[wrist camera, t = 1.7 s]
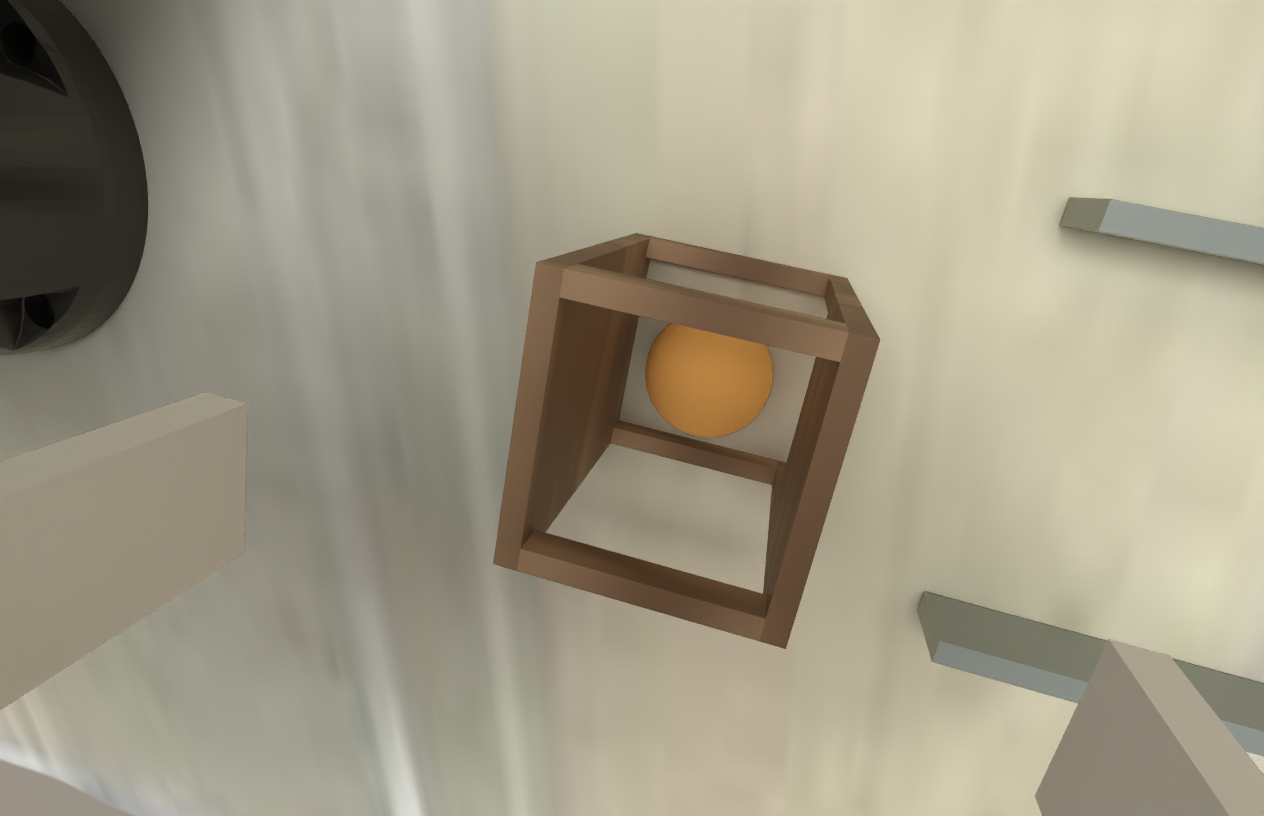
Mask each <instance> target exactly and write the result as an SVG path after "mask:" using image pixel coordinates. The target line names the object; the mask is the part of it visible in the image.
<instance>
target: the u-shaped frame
mask: <svg viewBox="0 0 1264 816" xmlns="http://www.w3.org/2000/svg"><path fill="white" fill-rule="evenodd" d="M1060 225H1062V226H1067V227H1072V228H1077V229H1082V230H1087V231H1092V232H1097V233H1102V234H1108V235H1113V236H1118V237H1123V238H1128V239H1133V240H1138V241H1143V242H1149V243H1154V244H1159V245H1164V246H1169V247H1174V248H1179V249H1184V250H1189V251H1195V252H1200V253H1205V254H1210V255H1215V256H1220V257H1225V258H1230V259H1235V260H1241V261H1246V262H1251V263H1256V264H1261V265H1264V228H1261V227H1255V226H1250V225H1245V224H1240V223H1234V222H1229V221H1224V220H1218V219H1213V218H1208V217H1203V216H1197V215H1192V214H1187V213H1181V212H1176V211H1171V210H1165V209H1160V208H1155V207H1150V206H1144V205H1139V204H1134V203H1128V202H1123V201H1118V200H1113V199H1094V198H1069V201H1068V204H1067V207H1066V209H1065V212H1064V215H1063V217H1062V220H1061V223H1060ZM917 611H918V614H919V618H920V621H921V625H922V629H923V632H924V636H925V639H926V643H927V646H928V650H929V653H930V657H931V660H932V662H934V663H938V664H941V665H945V666H948V667H952V668H955V669H959V670H962V671H966V672H969V673H973V674H976V675H980V676H983V677H987V678H990V679H994V680H998V681H1001V682H1005V683H1008V684H1012V685H1015V686H1019V687H1022V688H1026V689H1029V690H1033V691H1036V692H1040V693H1043V694H1047V695H1050V696H1054V697H1057V698H1061V699H1064V700H1068V701H1071V702H1075V703H1079V701H1080V699H1081V697H1082V695H1083V693H1084V691H1085V689H1086V686H1087V684H1088V682H1089V680H1090V678H1091V676H1092V674H1093V672H1094V670H1095V667H1096V665H1097V663H1098V661H1099V659H1100V657H1101V655H1102V653H1103V650H1104V648H1105V646H1106V644H1107V642H1108V641H1104V640H1101V639H1097V638H1093V637H1090V636H1086V635H1082V634H1079V633H1075V632H1071V631H1068V630H1064V629H1060V628H1057V627H1053V626H1049V625H1046V624H1042V623H1038V622H1035V621H1031V620H1027V619H1024V618H1020V617H1016V616H1012V615H1009V614H1005V613H1001V612H998V611H994V610H990V609H987V608H983V607H979V606H976V605H972V604H968V603H965V602H961V601H957V600H954V599H950V598H946V597H943V596H939V595H935V594H931V593H928V592H924V594H923V597H922V600H921V602H920V605H919V608H918V610H917ZM1173 660H1174V659H1173ZM1174 662H1175V663H1176V664H1177V665H1178V667H1179V668H1180V669H1181V671H1182V672H1183V673H1184V674H1185V676H1186V677H1187V678H1188V679H1189V681H1190V682H1191V683H1192V684H1193V686H1194V687H1195V688H1196V689H1197V691H1198V692H1199V693H1200V695H1201V696H1202V697H1203V698H1204V700H1205V701H1206V702H1207V703H1208V705H1209V706H1210V707H1211V708H1212V710H1213V711H1214V712H1215V714H1216V715H1217V716H1218V717H1219V719H1220V720H1221V721H1222V722H1223V724H1224V725H1225V726H1226V727H1227V729H1228V730H1229V731H1230V733H1231V734H1232V735H1233V736H1234V738H1235V739H1236V740H1237V741H1238V743H1239V744H1240V745H1241V746H1242V748H1243V749H1244V750H1245V751H1247V752H1250V753H1254V754H1257V755H1261V756H1264V684H1263V683H1259V682H1255V681H1252V680H1248V679H1244V678H1241V677H1237V676H1233V675H1230V674H1226V673H1222V672H1219V671H1215V670H1211V669H1208V668H1204V667H1200V666H1197V665H1193V664H1189V663H1185V662H1182V661H1178V660H1174Z"/></svg>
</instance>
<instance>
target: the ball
mask: <svg viewBox="0 0 1264 816" xmlns="http://www.w3.org/2000/svg"><path fill="white" fill-rule="evenodd" d="M772 381H773V368H772V361H771V357H770V353H769V351H768V348H767V346H766V345H764V344H759V343H755V342H751V341H746V340H742V339H738V338H733V337H729V336H725V335H720V334H716V333H712V332H707V331H703V330H699V329H694V328H690V327H686V326H681V325H677V324H673V323H671V324H670V325H668V326H667V327H666V328H665V329H664V330H663V331H662V332H661V333H660V335H659V336H658V337H657V339H656V340H655V342H654V344H653V345H652V347H651V350H650V352H649V355H648V359H647V363H646V385H647V390H648V393H649V396H650V399H651V401H652V403H653V405H654V406H655V408H656V410H657V411H658V412H659V414H660V415H661V416H662V417H663V418H664V419H665V420H666V421H667V422H668V423H669V424H671V425H672V426H673V427H675V428H677V429H678V430H680V431H683V432H685V433H687V434H691V435H694V436H699V437H719V436H724V435H727V434H731V433H733V432H735V431H737V430H740V429H741V428H743V427H744V426H746V425H747V424H748V423H750V422H751V421H752V420H753V419H754V418H755V417H756V416H757V415H758V414H759V413H760V411H761V410H762V408H763V407H764V405H765V403H766V401H767V399H768V396H769V394H770V391H771V386H772Z"/></svg>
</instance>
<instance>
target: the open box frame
mask: <svg viewBox="0 0 1264 816" xmlns="http://www.w3.org/2000/svg"><path fill="white" fill-rule="evenodd" d="M650 258H652V259H656V260H661V261H666V262H670V263H675V264H679V265H684V266H688V267H693V268H698V269H702V270H707V271H711V272H716V273H720V274H725V275H730V276H734V277H739V278H743V279H748V280H752V281H757V282H762V283H766V284H771V285H775V286H780V287H784V288H789V289H794V290H798V291H803V292H807V293H812V294H816V295H821V296H824V298H825V302H826V306H827V310H828V316H827V319H823V318H818V317H814V316H810V315H805V314H801V313H796V312H792V311H787V310H783V309H778V308H774V307H769V306H765V305H760V304H756V303H751V302H747V301H742V300H738V299H733V298H729V297H724V296H720V295H715V294H711V293H706V292H702V291H698V290H693V289H689V288H684V287H680V286H675V285H671V284H666V283H662V282H657V281H653V280H648V279H646V275H647V270H648V265H649V260H650ZM639 316H643V317H647V318H651V319H656V320H660V321H664V322H668V323H673V324H677V325H681V326H686V327H690V328H694V329H699V330H703V331H707V332H712V333H716V334H720V335H725V336H729V337H733V338H738V339H742V340H746V341H751V342H755V343H759V344H764V345H768V346H772V347H777V348H781V349H785V350H790V351H794V352H798V353H803V354H807V355H811V356H816V359H815V363H814V367H813V370H812V374H811V377H810V381H809V384H808V388H807V392H806V395H805V399H804V402H803V406H802V410H801V413H800V417H799V420H798V424H797V428H796V431H795V435H794V438H793V442H792V445H791V449H790V453H789V456H788V460H787V463H784V462H780V461H776V460H772V459H768V458H764V457H760V456H756V455H752V454H748V453H744V452H740V451H736V450H733V449H729V448H725V447H721V446H717V445H713V444H709V443H705V442H701V441H697V440H693V439H689V438H685V437H681V436H677V435H673V434H669V433H666V432H662V431H658V430H654V429H650V428H646V427H642V426H638V425H634V424H630V423H626V422H622V421H618V420H619V415H620V410H621V405H622V400H623V394H624V389H625V384H626V379H627V374H628V368H629V363H630V358H631V353H632V348H633V342H634V337H635V332H636V327H637V322H638V317H639ZM879 342H880V338H879V337H878V335H877V333H876V331H875V329H874V327H873V325H872V324H871V322H870V320H869V318H868V316H867V314H866V312H865V311H864V309H863V307H862V305H861V303H860V301H859V299H858V298H857V296H856V294H855V292H854V290H853V288H852V287H851V285H850V283H849V281H848V279H847V278H843V277H838V276H833V275H829V274H824V273H819V272H815V271H810V270H805V269H801V268H796V267H791V266H787V265H782V264H777V263H773V262H768V261H763V260H759V259H754V258H749V257H745V256H740V255H735V254H731V253H726V252H721V251H717V250H712V249H707V248H703V247H698V246H693V245H689V244H684V243H679V242H675V241H670V240H665V239H661V238H656V237H651V236H647V235H642V234H637V233H636V234H632V235H629V236H625V237H622V238H619V239H615V240H612V241H608V242H605V243H601V244H598V245H594V246H591V247H588V248H584V249H581V250H577V251H574V252H570V253H567V254H563V255H560V256H557V257H553V258H550V259H546V260H543V261H539V262H536V268H535V275H534V282H533V289H532V296H531V303H530V310H529V317H528V324H527V331H526V338H525V345H524V352H523V359H522V366H521V373H520V380H519V387H518V394H517V401H516V408H515V415H514V422H513V429H512V436H511V443H510V450H509V457H508V464H507V471H506V478H505V485H504V492H503V499H502V506H501V513H500V520H499V527H498V534H497V541H496V548H495V555H494V562H493V564H495V565H499V566H502V567H506V568H509V569H512V570H516V571H519V572H523V573H526V574H530V575H533V576H537V577H540V578H543V579H547V580H550V581H554V582H557V583H561V584H564V585H567V586H571V587H574V588H578V589H581V590H585V591H588V592H592V593H595V594H598V595H602V596H605V597H609V598H612V599H616V600H619V601H623V602H626V603H629V604H633V605H636V606H640V607H643V608H647V609H650V610H654V611H657V612H660V613H664V614H667V615H671V616H674V617H678V618H681V619H685V620H688V621H691V622H695V623H698V624H702V625H705V626H709V627H712V628H715V629H719V630H722V631H726V632H729V633H733V634H736V635H740V636H743V637H746V638H750V639H753V640H757V641H760V642H764V643H767V644H771V645H774V646H777V647H781V648H784V649H786V646H787V643H788V640H789V636H790V633H791V630H792V626H793V623H794V620H795V617H796V613H797V610H798V607H799V604H800V600H801V597H802V594H803V591H804V587H805V584H806V581H807V577H808V574H809V571H810V568H811V564H812V561H813V558H814V555H815V551H816V548H817V545H818V541H819V538H820V535H821V532H822V528H823V525H824V522H825V519H826V515H827V512H828V509H829V506H830V502H831V499H832V496H833V492H834V489H835V486H836V483H837V479H838V476H839V473H840V470H841V466H842V463H843V460H844V456H845V453H846V450H847V447H848V443H849V440H850V437H851V434H852V430H853V427H854V424H855V421H856V417H857V414H858V411H859V407H860V404H861V401H862V398H863V394H864V391H865V388H866V385H867V381H868V378H869V375H870V372H871V368H872V365H873V362H874V358H875V355H876V352H877V349H878V345H879ZM610 443H612V444H616V445H620V446H624V447H628V448H631V449H635V450H639V451H643V452H647V453H651V454H655V455H659V456H662V457H666V458H670V459H674V460H678V461H682V462H686V463H689V464H693V465H697V466H701V467H705V468H709V469H713V470H717V471H720V472H724V473H728V474H732V475H736V476H740V477H744V478H747V479H751V480H755V481H759V482H763V483H767V484H771V485H772V495H771V507H770V519H769V531H768V542H767V554H766V566H765V578H764V590H763V594H761V593H757V592H754V591H750V590H747V589H743V588H740V587H736V586H732V585H729V584H725V583H722V582H718V581H715V580H711V579H708V578H704V577H700V576H697V575H693V574H690V573H686V572H683V571H679V570H676V569H672V568H668V567H665V566H661V565H658V564H654V563H651V562H647V561H643V560H640V559H636V558H633V557H629V556H626V555H622V554H619V553H615V552H611V551H608V550H604V549H601V548H597V547H594V546H590V545H587V544H583V543H579V542H576V541H572V540H569V539H565V538H562V537H558V536H555V535H551V534H547V533H545V532H546V530H547V529H548V528H549V526H550V525H551V523H552V522H553V521H554V519H555V518H556V517H557V515H558V514H559V513H560V511H561V510H562V508H563V507H564V506H565V504H566V503H567V502H568V500H569V499H570V497H571V496H572V495H573V493H574V492H575V491H576V489H577V488H578V486H579V485H580V484H581V482H582V481H583V480H584V478H585V477H586V476H587V474H588V473H589V471H590V470H591V469H592V467H593V466H594V465H595V463H596V462H597V460H598V459H599V458H600V456H601V455H602V454H603V452H604V451H605V449H606V448H607V447H608V445H609V444H610Z"/></svg>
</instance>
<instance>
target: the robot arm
mask: <svg viewBox="0 0 1264 816" xmlns="http://www.w3.org/2000/svg"><path fill="white" fill-rule="evenodd" d="M147 220H148V192H147V180H146V171H145V165H144V159H143V154H142V150H141V145H140V141H139V137H138V134H137V130H136V127H135V124H134V121H133V118H132V115H131V112H130V109H129V107H128V104H127V102H126V99H125V97H124V95H123V92H122V90H121V88H120V86H119V84H118V82H117V80H116V78H115V76H114V74H113V72H112V70H111V68H110V67H109V65H108V63H107V61H106V60H105V58H104V56H103V55H102V53H101V52H100V50H99V48H98V47H97V45H96V44H95V42H94V41H93V40H92V38H91V37H90V36H89V34H88V33H87V31H86V30H85V29H84V28H83V26H82V25H81V24H80V23H79V21H78V20H77V19H76V18H75V17H74V16H73V14H72V13H71V12H70V11H69V10H68V9H67V8H66V7H65V6H64V5H63V4H62V3H61V2H60V1H59V0H0V356H1V355H14V354H22V353H27V352H32V351H36V350H41V349H46V348H50V347H55V346H59V345H64V344H67V343H70V342H73V341H75V340H78V339H80V338H82V337H84V336H86V335H87V334H89V333H91V332H92V331H94V330H95V329H97V328H98V327H99V326H101V325H102V324H103V323H104V322H105V321H106V320H107V319H108V318H109V317H110V316H111V315H112V314H113V313H114V312H115V311H116V309H117V308H118V307H119V305H120V304H121V303H122V301H123V300H124V298H125V296H126V295H127V293H128V291H129V289H130V287H131V285H132V283H133V281H134V279H135V276H136V273H137V271H138V268H139V265H140V262H141V258H142V254H143V250H144V245H145V239H146V232H147ZM246 439H247V403H244V402H240V401H237V400H233V399H229V398H226V397H222V396H218V395H215V394H211V393H207V392H204V393H201V394H199V395H196V396H193V397H190V398H187V399H184V400H181V401H178V402H175V403H172V404H169V405H166V406H163V407H160V408H157V409H154V410H151V411H148V412H145V413H142V414H139V415H136V416H133V417H130V418H127V419H125V420H122V421H119V422H116V423H113V424H110V425H107V426H104V427H101V428H98V429H95V430H92V431H89V432H86V433H83V434H80V435H77V436H74V437H71V438H68V439H65V440H62V441H59V442H56V443H53V444H50V445H48V446H45V447H42V448H39V449H36V450H33V451H30V452H27V453H24V454H21V455H18V456H15V457H12V458H9V459H6V460H3V461H0V710H1V709H3V708H4V707H6V706H7V705H9V704H11V703H12V702H14V701H15V700H17V699H18V698H20V697H21V696H23V695H24V694H26V693H28V692H29V691H31V690H32V689H34V688H35V687H37V686H38V685H40V684H41V683H43V682H44V681H46V680H48V679H49V678H51V677H52V676H54V675H55V674H57V673H58V672H60V671H61V670H63V669H65V668H66V667H68V666H69V665H71V664H72V663H74V662H75V661H77V660H78V659H80V658H82V657H83V656H85V655H86V654H88V653H89V652H91V651H92V650H94V649H95V648H97V647H99V646H100V645H102V644H103V643H105V642H106V641H108V640H109V639H111V638H112V637H114V636H115V635H117V634H119V633H120V632H122V631H123V630H125V629H126V628H128V627H129V626H131V625H132V624H134V623H136V622H137V621H139V620H140V619H142V618H143V617H145V616H146V615H148V614H149V613H151V612H153V611H154V610H156V609H157V608H159V607H160V606H162V605H163V604H165V603H166V602H168V601H170V600H171V599H173V598H174V597H176V596H177V595H179V594H180V593H182V592H183V591H185V590H186V589H188V588H190V587H191V586H193V585H194V584H196V583H197V582H199V581H200V580H202V579H203V578H205V577H207V576H208V575H210V574H211V573H213V572H214V571H216V570H217V569H219V568H220V567H222V566H224V565H225V564H227V563H228V562H230V561H231V560H233V559H234V558H236V557H237V556H239V555H241V554H242V553H244V551H245V495H246ZM1035 798H1036V800H1037V803H1038V805H1039V808H1040V811H1041V813H1042V816H1264V774H1263V773H1262V772H1261V770H1260V769H1259V768H1258V767H1257V765H1256V764H1255V763H1254V762H1253V760H1252V759H1251V758H1250V757H1249V755H1248V754H1247V753H1246V751H1245V750H1244V749H1243V748H1242V746H1241V745H1240V744H1239V743H1238V741H1237V740H1236V739H1235V738H1234V736H1233V735H1232V734H1231V733H1230V731H1229V730H1228V729H1227V727H1226V726H1225V725H1224V724H1223V722H1222V721H1221V720H1220V719H1219V717H1218V716H1217V715H1216V714H1215V712H1214V711H1213V710H1212V708H1211V707H1210V706H1209V705H1208V703H1207V702H1206V701H1205V700H1204V698H1203V697H1202V696H1201V695H1200V693H1199V692H1198V691H1197V689H1196V688H1195V687H1194V686H1193V684H1192V683H1191V682H1190V681H1189V679H1188V678H1187V677H1186V676H1185V674H1184V673H1183V672H1182V671H1181V669H1180V668H1179V667H1178V665H1177V664H1176V663H1175V662H1174V660H1173V659H1172V658H1171V657H1170V656H1168V655H1165V654H1161V653H1157V652H1154V651H1150V650H1146V649H1143V648H1139V647H1135V646H1132V645H1128V644H1125V643H1121V642H1117V641H1114V640H1110V639H1109V640H1108V642H1107V644H1106V646H1105V648H1104V650H1103V653H1102V655H1101V657H1100V659H1099V661H1098V663H1097V665H1096V667H1095V670H1094V672H1093V674H1092V676H1091V678H1090V680H1089V682H1088V684H1087V686H1086V689H1085V691H1084V693H1083V695H1082V697H1081V699H1080V701H1079V703H1078V706H1077V708H1076V710H1075V712H1074V714H1073V716H1072V718H1071V720H1070V722H1069V725H1068V727H1067V729H1066V731H1065V733H1064V735H1063V737H1062V739H1061V742H1060V744H1059V746H1058V748H1057V750H1056V752H1055V754H1054V756H1053V758H1052V761H1051V763H1050V765H1049V767H1048V769H1047V771H1046V773H1045V775H1044V778H1043V780H1042V782H1041V784H1040V786H1039V788H1038V790H1037V792H1036V794H1035Z"/></svg>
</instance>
